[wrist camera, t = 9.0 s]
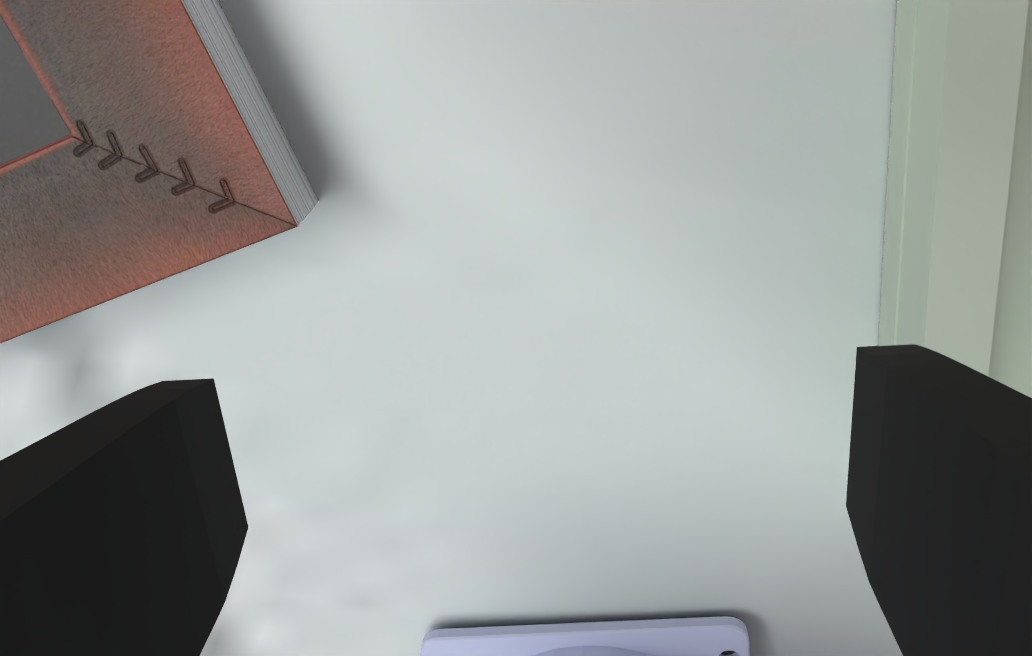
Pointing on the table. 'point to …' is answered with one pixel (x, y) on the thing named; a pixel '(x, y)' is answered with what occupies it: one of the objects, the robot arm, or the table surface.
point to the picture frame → (129, 152)
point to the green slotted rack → (961, 186)
